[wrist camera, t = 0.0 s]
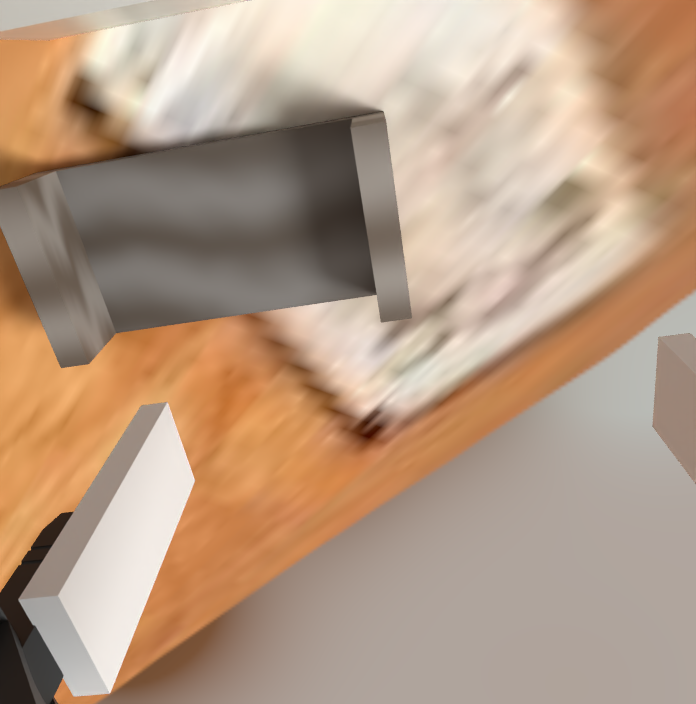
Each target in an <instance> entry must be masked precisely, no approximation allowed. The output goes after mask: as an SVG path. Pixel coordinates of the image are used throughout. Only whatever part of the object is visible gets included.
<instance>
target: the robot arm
mask: <svg viewBox="0 0 696 704" xmlns="http://www.w3.org/2000/svg"><path fill="white" fill-rule="evenodd" d="M653 428H654V429H655V430H656V432H657V433H658V434H659V436H660V437H661V438H662V440H663V441H664V442H665V444H666V445H667V446H668V448H669V449H670V450H671V452H672V453H673V454H674V456H675V457H676V458H677V460H678V461H679V462H680V464H681V465H682V466H683V467H684V469H685V470H686V472H687V473H688V474H689V476H690V477H691V478H692V480H693V481H694V482H695V483H696V338H695V337H694V336H693V335H692V334H690V333H686V334H678V335H671V336H664V337H659V338H658V354H657V368H656V383H655V398H654V413H653ZM194 482H195V479H194V477H193V474H192V471H191V468H190V465H189V462H188V459H187V456H186V454H185V451H184V448H183V445H182V442H181V439H180V436H179V434H178V431H177V428H176V425H175V422H174V419H173V416H172V414H171V411H170V408H169V405H168V402H165V403H157V404H150V405H142V406H141V407H140V408H139V410H138V411H137V413H136V415H135V416H134V418H133V419H132V421H131V422H130V424H129V426H128V427H127V429H126V430H125V432H124V434H123V435H122V437H121V438H120V440H119V441H118V443H117V445H116V446H115V448H114V449H113V451H112V452H111V454H110V456H109V457H108V459H107V460H106V462H105V464H104V465H103V467H102V468H101V470H100V471H99V473H98V475H97V476H96V478H95V479H94V481H93V482H92V484H91V486H90V487H89V489H88V490H87V492H86V493H85V495H84V497H83V498H82V500H81V501H80V503H79V505H78V506H77V508H76V509H75V511H74V512H67V513H61V514H60V515H59V516H58V517H57V518H55V519H54V520H53V521H52V522H51V523H50V524H49V525H48V526H46V527H45V528H44V529H43V530H42V532H41V533H40V535H39V536H38V538H37V539H36V541H35V542H34V543H33V545H32V546H31V550H30V551H28V552H27V554H26V555H25V557H24V558H23V560H22V561H21V562H22V564H21V565H19V566H18V567H17V569H16V570H15V572H14V573H13V575H12V576H11V578H10V579H9V581H8V582H7V583H6V585H5V586H4V588H3V589H2V591H1V592H0V704H58V703H57V701H56V700H55V698H54V695H55V693H56V691H57V689H58V687H59V685H60V683H61V681H62V678H63V679H64V680H65V682H66V684H67V686H68V687H69V689H70V691H71V693H72V694H73V696H86V695H98V694H110V692H111V690H112V687H113V685H114V682H115V680H116V677H117V675H118V672H119V670H120V667H121V665H122V662H123V660H124V657H125V655H126V652H127V650H128V647H129V645H130V642H131V640H132V637H133V635H134V632H135V630H136V627H137V625H138V622H139V620H140V617H141V615H142V612H143V610H144V607H145V605H146V602H147V600H148V597H149V594H150V592H151V589H152V587H153V584H154V582H155V579H156V577H157V574H158V572H159V569H160V567H161V564H162V562H163V559H164V557H165V554H166V552H167V549H168V547H169V544H170V542H171V539H172V537H173V534H174V532H175V529H176V527H177V524H178V522H179V519H180V517H181V514H182V512H183V509H184V507H185V504H186V502H187V499H188V497H189V494H190V492H191V489H192V487H193V484H194Z"/></svg>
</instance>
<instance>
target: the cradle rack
mask: <svg viewBox="0 0 696 704" xmlns="http://www.w3.org/2000/svg"><path fill="white" fill-rule="evenodd" d="M0 227H1V229H2V232H3V234H4V236H5V239H6V241H7V243H8V246H9V248H10V250H11V253H12V255H13V257H14V260H15V262H16V264H17V267H18V269H19V271H20V274H21V276H22V278H23V281H24V283H25V285H26V288H27V290H28V292H29V294H30V297H31V299H32V301H33V304H34V306H35V308H36V311H37V313H38V315H39V318H40V320H41V322H42V325H43V327H44V329H45V332H46V334H47V336H48V339H49V341H50V343H51V346H52V348H53V350H54V353H55V355H56V357H57V360H58V362H59V364H60V367H61V368H65V367H72V366H79V365H86V364H89V363H90V362H91V361H92V360H93V359H94V358H95V356H96V355H97V354H98V353H99V352H100V351H101V350H102V348H103V347H104V346H105V345H106V344H107V343H108V342H109V341H110V339H111V338H112V337H113V336H114V335H115V334H116V333H120V332H127V331H133V330H140V329H147V328H154V327H161V326H167V325H174V324H181V323H188V322H195V321H202V320H208V319H215V318H222V317H229V316H236V315H242V314H249V313H256V312H263V311H270V310H276V309H283V308H290V307H297V306H304V305H311V304H317V303H324V302H331V301H338V300H345V299H351V298H358V297H365V296H372V295H377V300H378V306H379V312H380V319H381V322H388V321H395V320H402V319H410V318H412V314H411V307H410V299H409V291H408V284H407V276H406V269H405V261H404V254H403V246H402V239H401V231H400V223H399V216H398V208H397V201H396V193H395V186H394V178H393V170H392V163H391V155H390V148H389V140H388V133H387V125H386V119H385V115H384V111H382V112H376V113H371V114H365V115H359V116H354V117H348V118H343V119H337V120H331V121H326V122H320V123H314V124H309V125H303V126H297V127H292V128H286V129H281V130H275V131H269V132H264V133H258V134H252V135H247V136H241V137H235V138H230V139H224V140H219V141H213V142H207V143H202V144H196V145H190V146H185V147H179V148H173V149H168V150H162V151H157V152H151V153H145V154H140V155H134V156H128V157H123V158H117V159H111V160H106V161H100V162H94V163H89V164H83V165H78V166H72V167H66V168H61V169H55V170H49V171H44V172H38V173H35V174H32V175H29V176H27V177H24V178H21V179H19V180H16V181H13V182H11V183H8V184H5V185H3V186H0Z"/></svg>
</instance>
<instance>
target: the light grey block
mask: <svg viewBox="0 0 696 704" xmlns="http://www.w3.org/2000/svg"><path fill="white" fill-rule="evenodd" d="M245 1H250V0H0V39H3V40H48V41H50V40H55V39H60V38H65V37H70V36H75V35H80V34H85V33H90V32H95V31H100V30H105V29H110V28H115V27H120V26H125V25H130V24H135V23H140V22H145V21H150V20H155V19H160V18H165V17H170V16H175V15H180V14H185V13H190V12H195V11H200V10H205V9H210V8H215V7H220V6H225V5H230V4H235V3H240V2H245Z"/></svg>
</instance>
